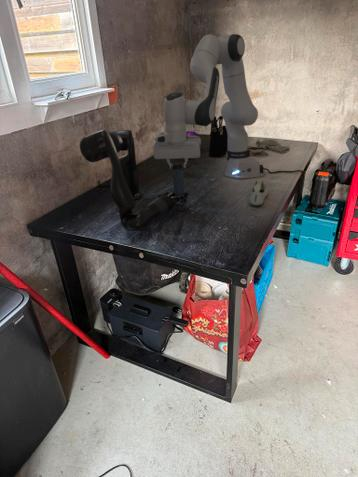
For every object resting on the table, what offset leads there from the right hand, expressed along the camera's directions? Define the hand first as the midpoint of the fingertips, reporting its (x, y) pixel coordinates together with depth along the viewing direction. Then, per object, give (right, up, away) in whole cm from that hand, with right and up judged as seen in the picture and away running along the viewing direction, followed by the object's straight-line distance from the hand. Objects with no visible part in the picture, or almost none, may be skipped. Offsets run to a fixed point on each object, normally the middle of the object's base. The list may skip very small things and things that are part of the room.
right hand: (177, 168), depth 144 cm
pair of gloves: (+58, +30, +85) cm, 107 cm away
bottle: (+1, -17, +10) cm, 20 cm away
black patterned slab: (+29, +28, +84) cm, 94 cm away
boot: (+29, +42, +108) cm, 119 cm away
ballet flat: (+39, -11, +16) cm, 44 cm away
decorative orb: (+9, +30, +90) cm, 95 cm away
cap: (0, +2, -1) cm, 2 cm away
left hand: (+2, -10, +8) cm, 13 cm away
